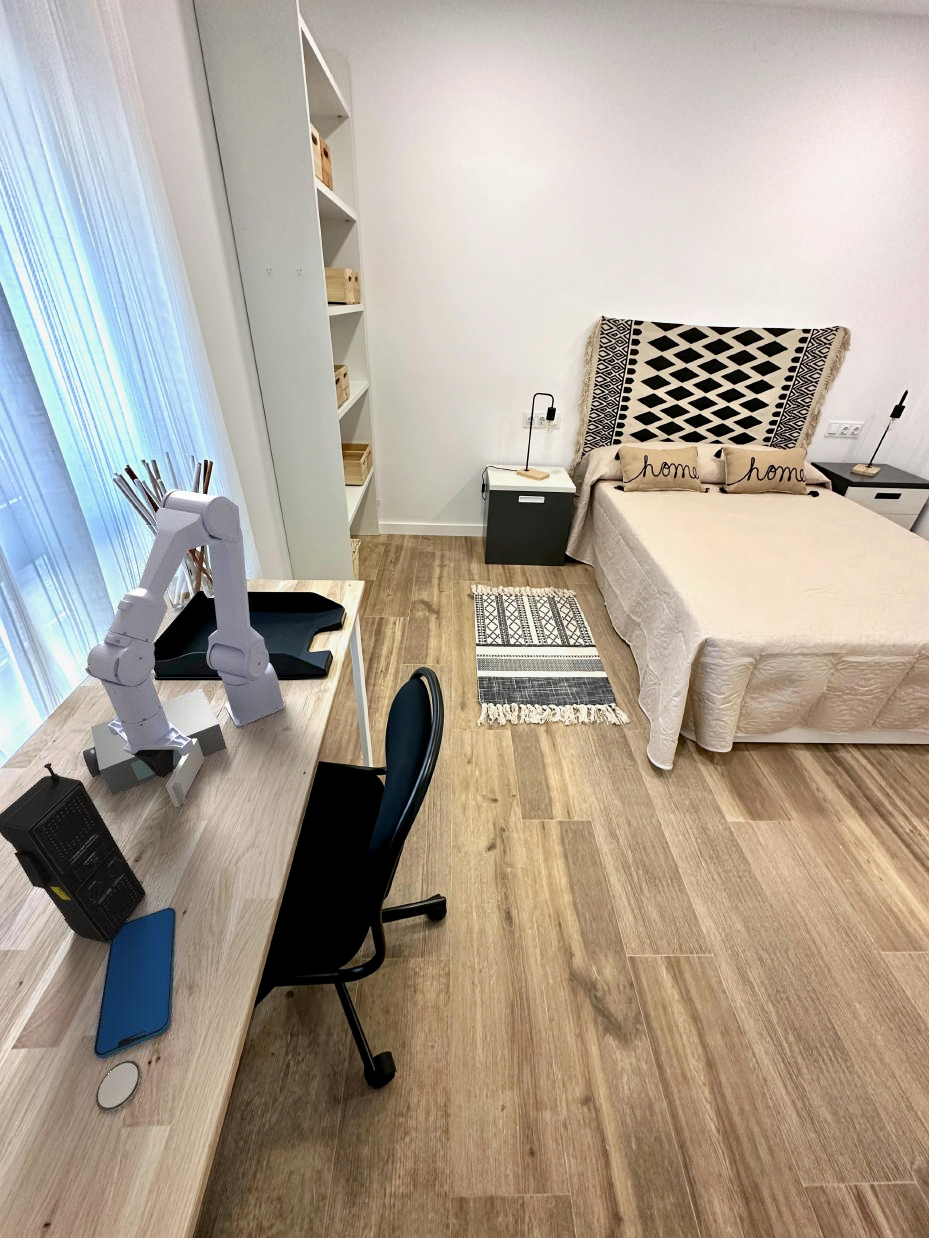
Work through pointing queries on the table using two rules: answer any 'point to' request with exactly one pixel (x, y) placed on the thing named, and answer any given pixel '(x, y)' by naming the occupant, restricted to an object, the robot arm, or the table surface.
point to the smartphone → (137, 983)
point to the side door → (184, 775)
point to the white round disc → (118, 1085)
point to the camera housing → (130, 771)
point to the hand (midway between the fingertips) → (165, 772)
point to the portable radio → (72, 856)
